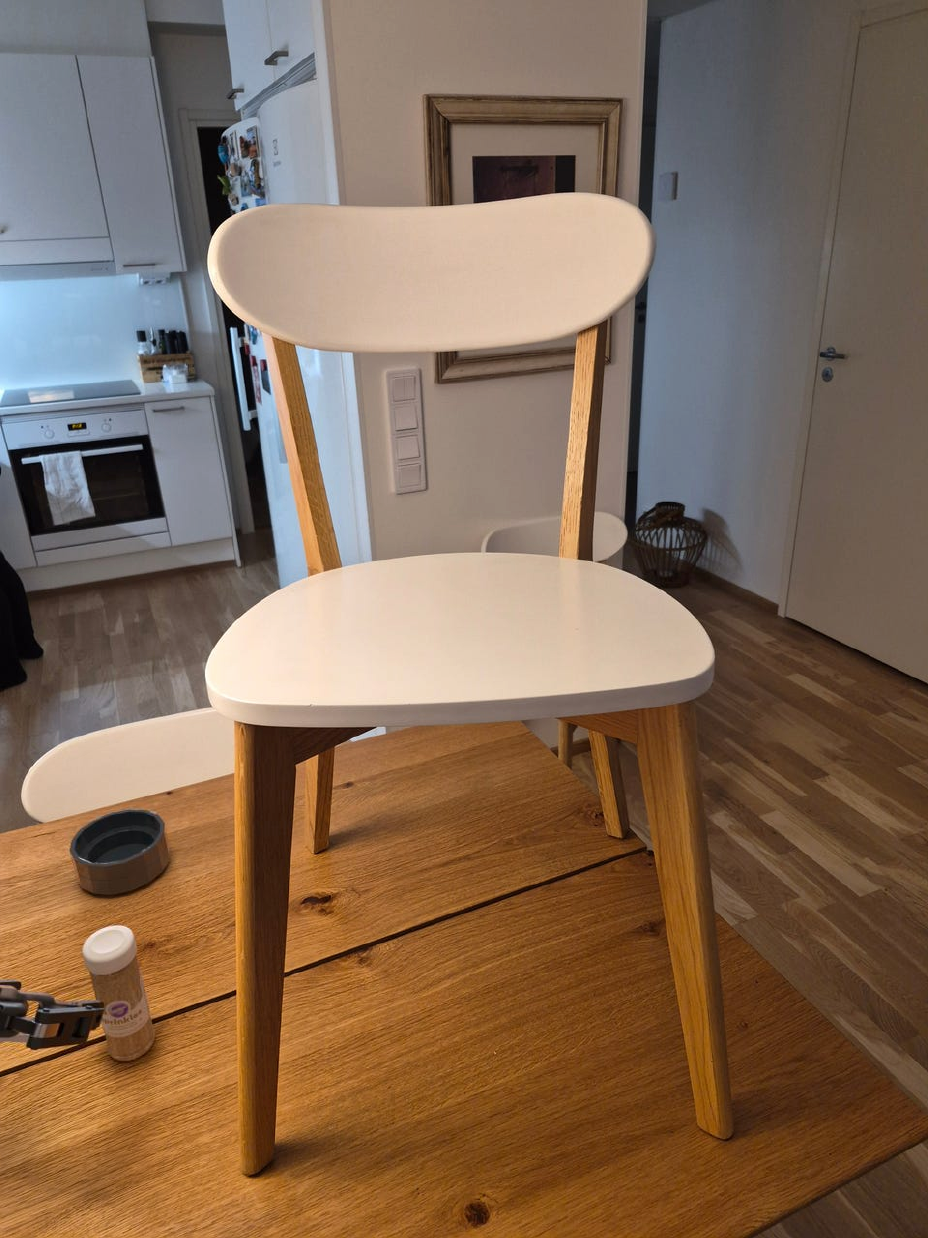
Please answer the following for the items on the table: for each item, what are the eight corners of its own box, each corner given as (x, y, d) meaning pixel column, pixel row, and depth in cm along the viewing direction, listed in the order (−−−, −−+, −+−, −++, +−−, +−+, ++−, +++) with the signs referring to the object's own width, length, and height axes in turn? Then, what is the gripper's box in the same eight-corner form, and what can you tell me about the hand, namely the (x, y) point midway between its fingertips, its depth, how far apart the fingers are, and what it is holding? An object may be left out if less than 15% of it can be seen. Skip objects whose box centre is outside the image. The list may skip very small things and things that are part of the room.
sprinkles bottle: (112, 1071, 79) (85, 967, 74) (104, 1036, 83) (77, 935, 78) (161, 1049, 82) (138, 947, 76) (151, 1016, 85) (128, 916, 80)
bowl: (60, 896, 102) (51, 863, 100) (105, 837, 112) (97, 807, 110) (147, 900, 101) (140, 868, 99) (184, 841, 111) (178, 811, 109)
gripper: (8, 979, 56) (140, 974, 70) (-155, 939, 59) (3, 942, 74) (-35, 1103, 53) (112, 1071, 68) (-203, 1054, 57) (-28, 1033, 71)
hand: (55, 1004), depth 71 cm, fingers open, 8 cm apart
